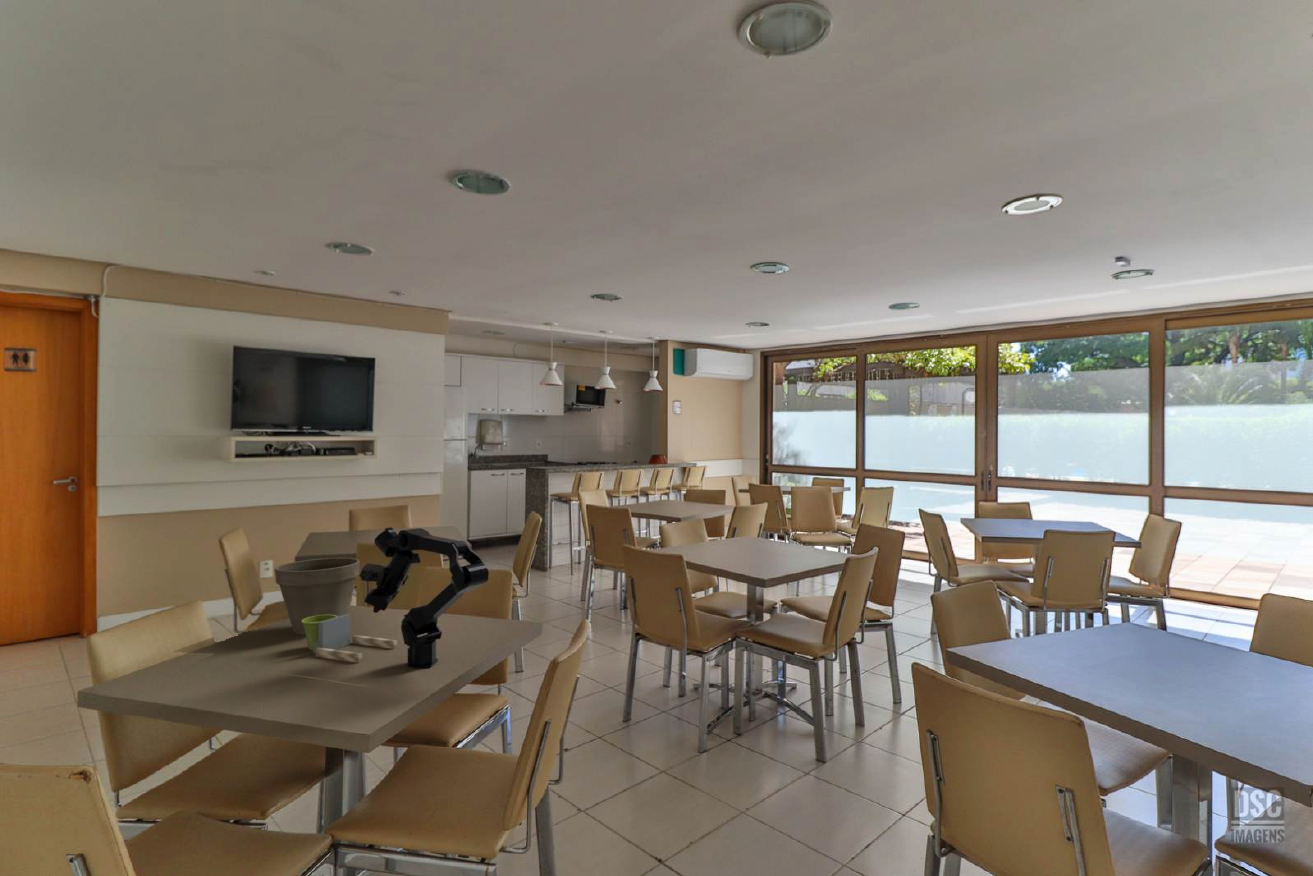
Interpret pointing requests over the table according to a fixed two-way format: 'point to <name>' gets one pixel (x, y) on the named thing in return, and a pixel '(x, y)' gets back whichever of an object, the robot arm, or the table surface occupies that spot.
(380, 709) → the table surface
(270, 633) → the table surface
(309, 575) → the plant pot
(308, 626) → the plant pot
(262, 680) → the table surface
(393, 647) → the wooden rail frame
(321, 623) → the board
